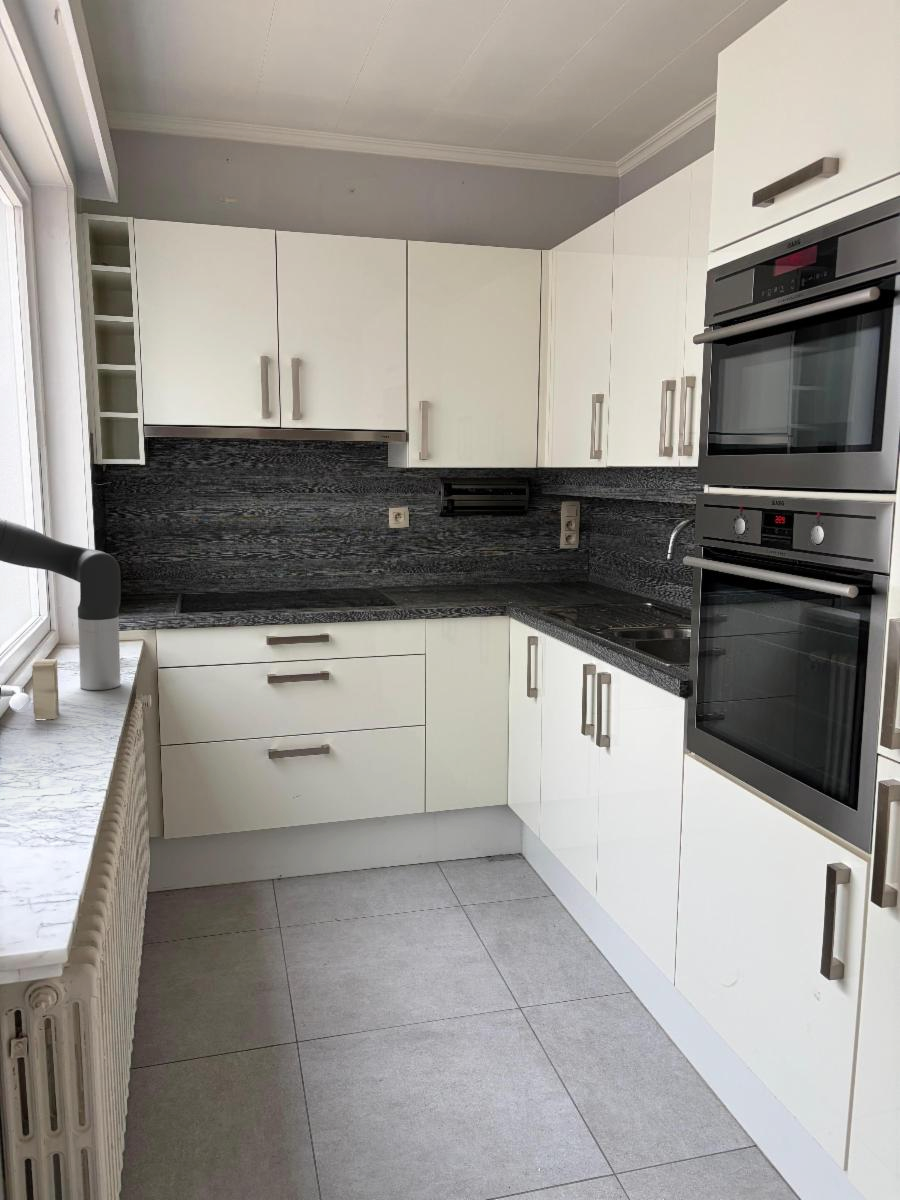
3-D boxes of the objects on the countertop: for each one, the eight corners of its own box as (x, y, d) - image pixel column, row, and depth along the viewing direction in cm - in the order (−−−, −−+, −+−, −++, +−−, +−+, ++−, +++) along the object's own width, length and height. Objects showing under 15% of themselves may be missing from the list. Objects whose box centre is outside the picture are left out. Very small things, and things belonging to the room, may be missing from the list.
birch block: (38, 713, 201) (36, 659, 199) (58, 712, 202) (56, 658, 200) (33, 720, 195) (31, 665, 193) (55, 719, 196) (52, 664, 194)
